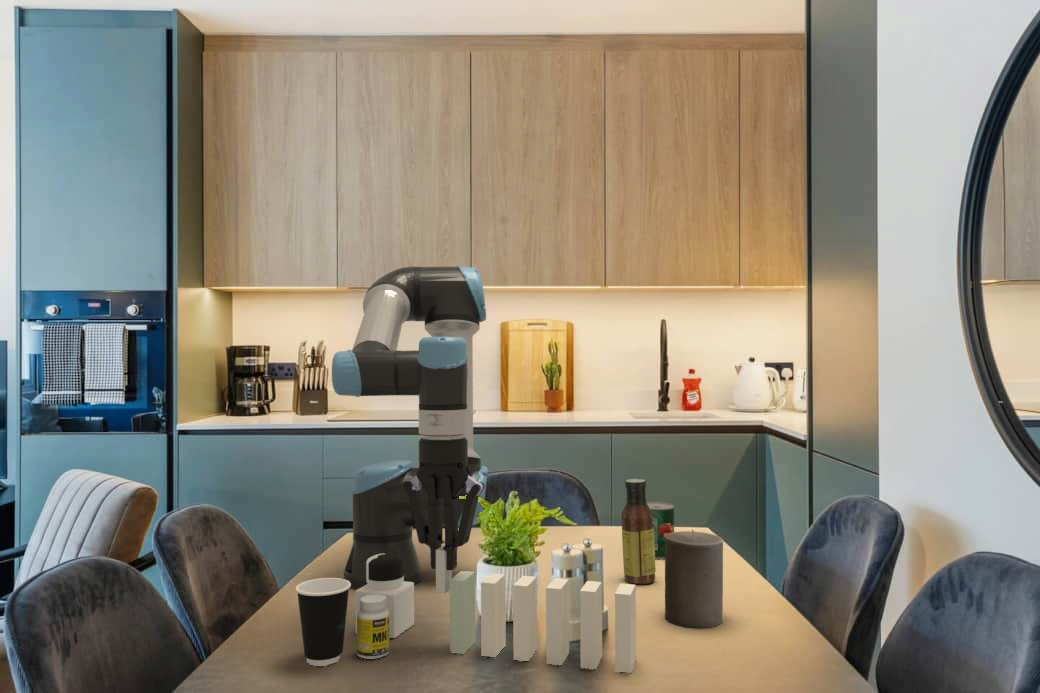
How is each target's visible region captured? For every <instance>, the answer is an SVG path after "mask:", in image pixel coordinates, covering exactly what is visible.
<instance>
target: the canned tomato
mask: <svg viewBox="0 0 1040 693" xmlns="http://www.w3.org/2000/svg"><path fill="white" fill-rule="evenodd" d="M646 503H647V505H648V506H649V508H650V510H651V512H652V518H653V519H652V520H653V528H654V546H655V560H665V536H666V535H667V534H669V533H672V532H675V506H674V504H672V503H668V502H660V501H659V502H658V501H657V502H656V501H654V502H653V501H652V502H651V501H650V502H649V501H648V502H647V501H646Z"/></svg>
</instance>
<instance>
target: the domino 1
mask: <svg viewBox="0 0 1040 693" xmlns="http://www.w3.org/2000/svg"><path fill="white" fill-rule="evenodd" d="M506 616H507V611H506V574H504V573H493V572H492V573H490V574H489V575H488V576H487V577H485V578H484V579H483V580H482V581H481V582H480V633H481V635H480V642H481V643H480V646H481V647H480V651H481V652H480V653H481V656H490V657H496V656H497V655H498V654H499V653H500V654H501V652H502V651H503V650H504V649H505V648H506V647H505V646H507V644H506V643H507V642H506V641H507V637H506V636H507V635H506V629H507V628H506V627H507V626H506V625H507V623H506V622H507V620H506ZM504 647H505V648H504ZM503 648H504V649H503ZM502 649H503V650H502ZM501 650H502V651H501ZM500 651H501V652H500ZM500 654H499V655H500ZM499 655H498V656H499ZM481 656H480V657H481ZM498 656H497V657H498ZM497 657H496V658H497Z"/></svg>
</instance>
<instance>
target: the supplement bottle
mask: <svg viewBox="0 0 1040 693" xmlns="http://www.w3.org/2000/svg"><path fill="white" fill-rule="evenodd" d="M386 607H387V597H386V596H384V595H377V594H374V595H367V596H363V597H361V598H360V609H361V610H360V611H359V612H358V614H357V634H356V654H357V656H359V657H361V658H360V659H362V658H364V659H363V660H366V659H372V658H379V657H382V656H385V655H386V656H388V655H389V653H390V638H389V611H388V610H387V609H386ZM387 654H388V655H387ZM386 656H385V657H386ZM359 657H358V658H359ZM365 658H366V659H365Z"/></svg>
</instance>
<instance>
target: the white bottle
mask: <svg viewBox="0 0 1040 693" xmlns="http://www.w3.org/2000/svg"><path fill="white" fill-rule="evenodd" d="M366 582H367V583H368V584H367V585H365V586H363V587H361V588H359V589H355V593H354V594H355V597H354V598H355V599H354V600H355V608H354V609H355V634H356V635H357V614H358V612H359V611H360V610H361V609H360V598H361V597H363V596H367V595H374V594H377V595H384V596H386V597H387V607H386V609H387V610H388V611H389V639H390V638H395V639H396V638H398V637H399V636H400V635H402V634H403V633H404V632H406V631H407V630H409V629H410V628H412V625H413V626H414V625H415V584H414V583H413V582H406V581H404V559H403V558H402V557H401V556H399V555H397V554H391V553H384V554H377V555H374V556H372V557H370V558H368V560H367V561H366ZM405 630H406V631H405ZM401 633H402V634H401Z"/></svg>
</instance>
